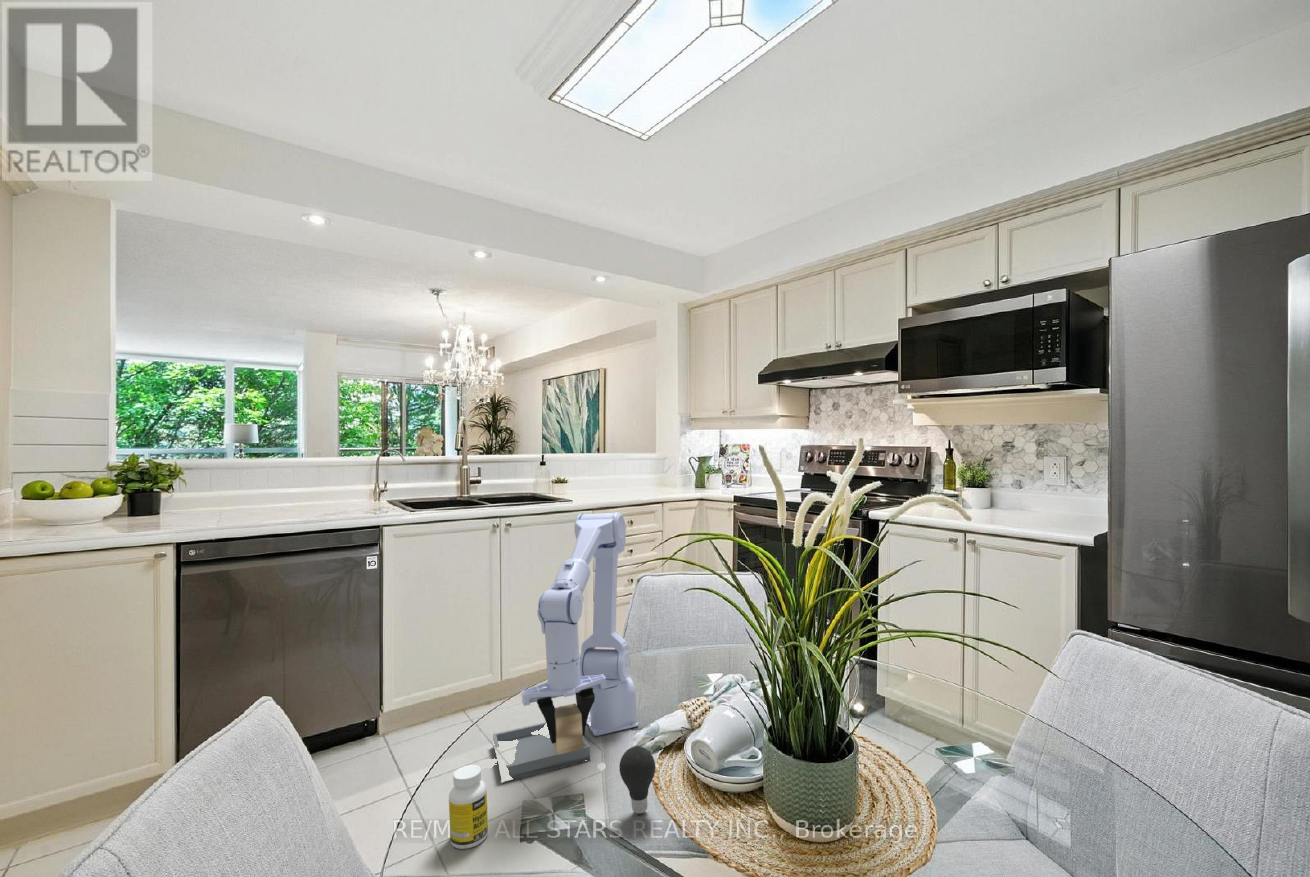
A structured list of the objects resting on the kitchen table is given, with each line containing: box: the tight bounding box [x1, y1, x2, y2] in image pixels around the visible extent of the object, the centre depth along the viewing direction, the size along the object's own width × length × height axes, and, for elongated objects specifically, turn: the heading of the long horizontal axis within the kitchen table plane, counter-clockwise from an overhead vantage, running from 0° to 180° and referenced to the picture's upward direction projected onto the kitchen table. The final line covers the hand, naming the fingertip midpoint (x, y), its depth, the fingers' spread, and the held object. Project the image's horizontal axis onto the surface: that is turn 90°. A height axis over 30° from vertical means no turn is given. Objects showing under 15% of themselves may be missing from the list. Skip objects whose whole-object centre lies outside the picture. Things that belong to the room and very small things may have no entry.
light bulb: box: [618, 745, 656, 815], centre depth 89 cm, size 6×6×10 cm
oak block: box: [553, 703, 583, 755], centre depth 99 cm, size 4×4×6 cm
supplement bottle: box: [448, 764, 489, 850], centre depth 85 cm, size 5×5×10 cm
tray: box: [492, 721, 591, 781], centre depth 109 cm, size 16×14×2 cm
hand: (567, 737), depth 99 cm, fingers closed on oak block, 4 cm apart
